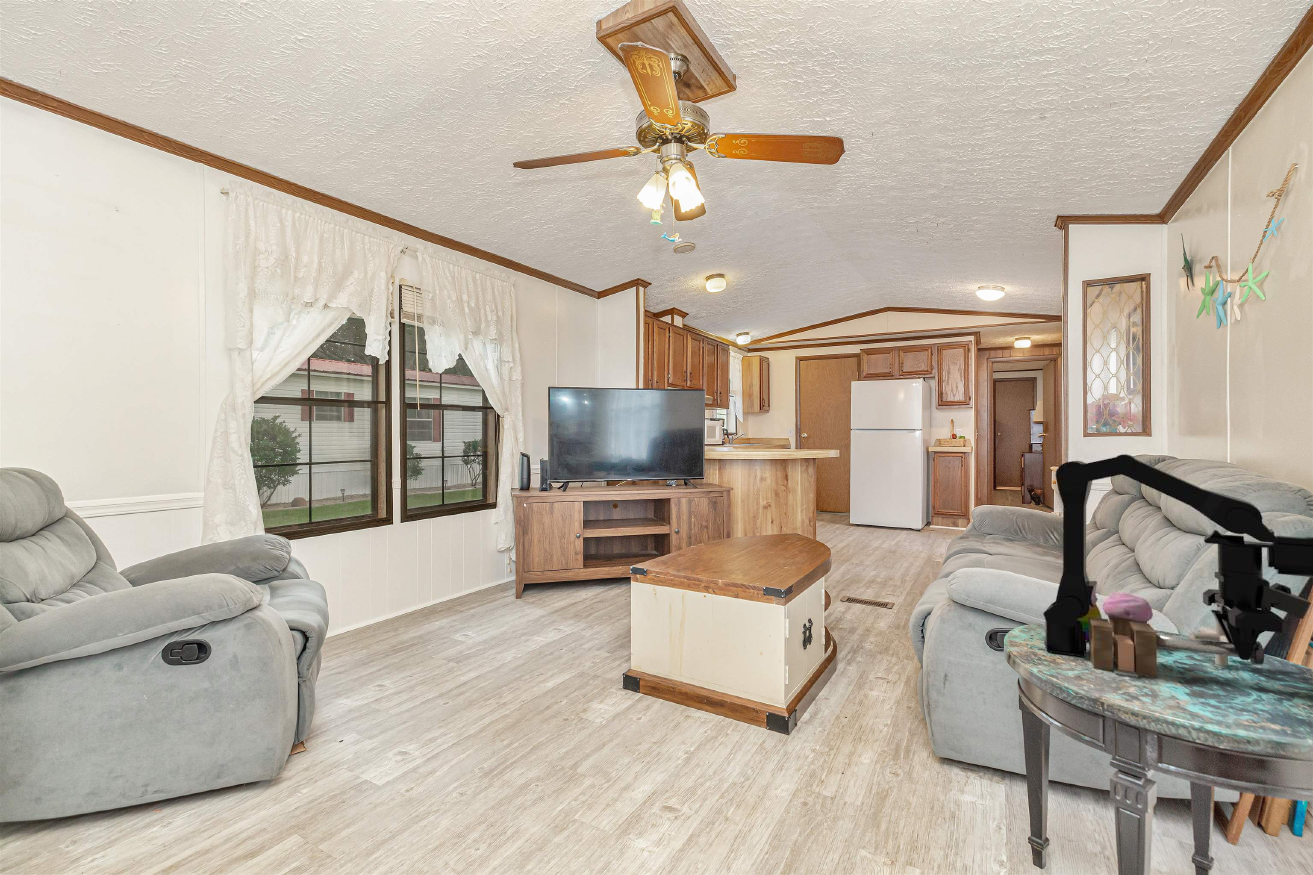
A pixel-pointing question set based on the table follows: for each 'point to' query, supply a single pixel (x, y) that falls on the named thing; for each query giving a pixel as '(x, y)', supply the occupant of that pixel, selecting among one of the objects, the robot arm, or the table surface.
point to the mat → (1124, 672)
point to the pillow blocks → (1139, 635)
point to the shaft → (1207, 647)
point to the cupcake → (1126, 611)
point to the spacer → (1123, 652)
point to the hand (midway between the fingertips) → (1241, 657)
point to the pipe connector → (1214, 636)
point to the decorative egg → (1093, 613)
